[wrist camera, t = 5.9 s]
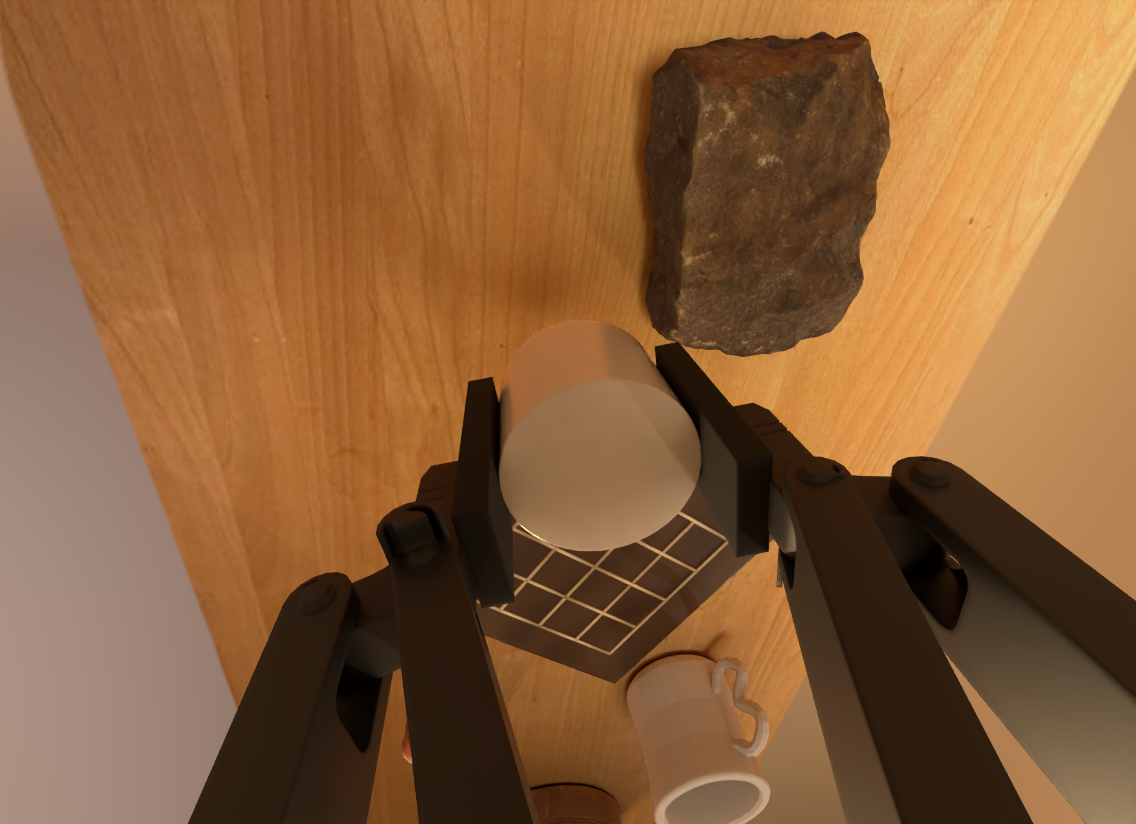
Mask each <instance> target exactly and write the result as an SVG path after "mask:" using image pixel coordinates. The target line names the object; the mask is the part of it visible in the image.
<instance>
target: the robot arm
mask: <svg viewBox="0 0 1136 824" xmlns="http://www.w3.org/2000/svg"><path fill="white" fill-rule="evenodd" d="M655 355H656V367H657V368H658V370H659V371H660V373H661V374H662V376H663V377H664V379H665V380H666V382H667V383H668V385H669V386H670V388H671V389H672V391H673V392H674V394H675V395H676V397H677V398H678V400H679V401H680V403H681V404H682V406H683V407H684V409H685V410H686V412H687V413H688V415H689V416H690V418H691V419H692V421H693V423H694V425H695V427H696V429H697V431H698V435H699V439H700V442H701V469H700V474H699V478H698V481H697V483H696V485H697V487H698V489H699V491H700V492H701V494H702V496H703V498H704V500H705V502H706V503H707V505H708V507H709V509H710V511H711V512H712V514H713V516H714V518H715V520H716V521H717V523H718V525H719V527H720V529H721V530H722V532H723V534H724V536H725V538H726V540H727V541H728V543H729V545H730V547H731V549H732V550H733V552H734V554H735V556H736V558H739V557H744V556H749V555H754V554H759V553H764V552H769V532H770V534H771V535H772V537H773V538H774V540H775V541H776V543H777V544H778V546H779V553H778V570H777V587H782V580H783V583H784V587H785V591H786V595H787V599H788V603H789V606H790V610H791V614H792V618H793V622H794V625H795V629H796V633H797V637H798V641H799V644H800V648H801V652H802V656H803V660H804V664H805V667H806V671H807V675H808V679H809V683H810V686H811V690H812V694H813V698H814V701H815V705H816V709H817V713H818V717H819V720H820V724H821V728H822V732H823V736H824V739H825V743H826V747H827V751H828V755H829V759H830V763H831V766H832V770H833V774H834V778H835V782H836V785H837V789H838V793H839V797H840V801H841V805H842V808H843V812H844V816H845V820H846V823H847V824H1033V822H1032V820H1031V818H1030V816H1029V814H1028V813H1027V811H1026V809H1025V807H1024V805H1023V803H1022V801H1021V799H1020V798H1019V795H1018V794H1017V791H1016V790H1015V788H1014V786H1013V784H1012V782H1011V780H1010V778H1009V776H1008V774H1007V772H1006V771H1005V769H1004V767H1003V765H1002V763H1001V761H1000V759H999V757H998V755H997V753H996V751H995V749H994V748H993V746H992V744H991V742H990V740H989V738H988V736H987V734H986V732H985V730H984V728H983V726H982V725H981V723H980V721H979V719H978V717H977V715H976V713H975V711H974V709H973V707H972V705H971V703H970V702H969V700H968V698H967V696H966V694H965V692H964V690H963V688H962V686H961V684H960V682H959V681H958V679H957V677H956V675H955V674H954V671H953V669H952V667H951V666H950V663H949V661H948V659H947V658H946V656H945V654H946V655H947V656H948V657H949V658H950V660H951V661H952V662H953V663H954V665H955V666H956V667H957V668H958V669H959V670H960V672H961V673H962V674H963V676H964V677H965V678H966V679H967V680H968V682H969V683H970V684H971V685H972V686H973V688H974V689H975V690H976V691H977V693H978V694H979V695H980V696H981V697H982V698H983V700H984V701H985V702H986V703H987V705H988V706H989V707H990V708H991V710H992V711H993V712H994V713H995V714H996V715H997V717H998V718H999V719H1000V720H1001V722H1002V723H1003V724H1004V725H1005V727H1006V728H1007V729H1008V730H1009V731H1010V733H1011V734H1012V735H1013V736H1014V738H1015V739H1016V740H1017V741H1018V742H1019V744H1020V745H1021V746H1022V747H1023V748H1024V750H1025V751H1026V752H1027V753H1028V755H1029V756H1030V757H1031V758H1032V759H1033V761H1034V762H1035V763H1036V764H1037V765H1038V767H1039V768H1040V769H1041V770H1042V772H1043V773H1044V774H1045V775H1046V776H1047V778H1048V779H1049V780H1050V781H1051V783H1052V784H1053V785H1054V786H1055V787H1056V789H1057V790H1058V791H1059V792H1060V793H1061V795H1062V796H1063V797H1064V798H1065V799H1066V801H1067V802H1068V803H1069V804H1070V806H1071V807H1072V808H1073V809H1074V810H1075V812H1076V813H1077V814H1078V815H1079V817H1080V818H1081V819H1082V820H1083V821H1084V823H1085V824H1136V601H1135V600H1134V599H1132V598H1131V597H1130V596H1128V595H1127V594H1126V593H1125V592H1123V591H1122V590H1121V589H1119V588H1118V587H1116V586H1115V585H1114V584H1112V583H1111V582H1110V581H1109V580H1107V579H1106V578H1105V577H1104V576H1102V575H1101V574H1099V573H1098V572H1097V571H1096V570H1094V569H1093V568H1092V567H1090V566H1089V565H1088V564H1086V563H1085V562H1084V561H1082V560H1081V559H1080V558H1078V557H1077V556H1076V555H1074V554H1073V553H1072V552H1071V551H1069V550H1068V549H1066V548H1065V547H1064V546H1063V545H1061V544H1060V543H1059V542H1057V541H1056V540H1055V539H1053V538H1052V537H1051V536H1049V535H1048V534H1047V533H1045V532H1044V531H1043V530H1041V529H1040V528H1039V527H1038V526H1036V525H1035V524H1034V523H1032V522H1031V521H1030V520H1028V519H1027V518H1026V517H1024V516H1023V515H1022V514H1020V513H1019V512H1017V511H1016V510H1015V509H1014V508H1013V507H1011V506H1010V505H1009V504H1007V503H1006V502H1005V501H1003V500H1002V499H1001V498H999V497H998V496H997V495H995V494H994V493H993V492H991V491H990V490H989V489H987V488H986V487H985V486H984V485H982V484H981V483H979V482H978V481H977V480H976V479H974V478H973V477H972V476H970V475H969V474H967V473H966V472H965V471H964V470H962V469H961V468H959V467H957V466H955V465H953V464H952V463H949V462H947V461H943V460H940V459H937V458H932V457H923V456H919V457H907V458H904V459H901V460H898V461H897V462H896V463H895V464H894V465H893V467H892V473H891V477H885V476H855V475H851V474H850V472H849V471H848V470H847V469H846V468H845V467H844V466H843V465H841V464H839V463H838V462H836V461H834V460H831V459H827V458H823V457H814V456H813V455H812V454H811V453H810V452H809V451H808V450H807V449H806V448H805V447H804V446H803V445H802V444H801V443H800V442H799V441H798V440H797V439H796V438H795V436H794V435H793V434H792V433H791V432H790V431H787V428H786V427H785V426H784V425H783V424H782V423H781V422H780V423H779V420H778V419H777V418H776V417H775V416H774V415H773V414H772V413H771V412H770V411H769V410H768V409H765V408H763V407H761V406H759V405H757V404H755V403H750V404H744V405H739V406H734V407H733V406H732V405H731V404H730V403H729V402H728V400H727V399H726V398H725V397H724V396H723V394H722V393H721V392H720V391H719V390H718V388H717V387H716V386H715V385H714V384H713V383H712V381H711V380H710V379H709V378H708V377H707V375H706V374H705V373H704V372H703V371H702V370H701V368H700V367H699V366H698V365H697V364H696V362H695V361H694V360H693V359H692V358H691V357H690V355H689V354H688V353H687V352H686V351H685V349H684V348H683V347H682V346H681V345H680V343H679V342H676V343H670V344H665V345H660V346H655ZM498 455H499V401H498V397H497V393H496V389H495V385H494V381H493V377H490V378H485V379H479V380H474V381H469V382H468V390H467V397H466V405H465V412H464V420H463V428H462V435H461V443H460V450H459V458H458V461H454V462H449V463H444V464H439V465H433V466H431V467H430V468H429V469H428V471H427V472H426V473H425V474H424V476H423V477H422V478H421V481H420V485H419V489H418V494H417V498H416V502H411V503H407V504H404V505H402V506H400V507H398V508H396V509H394V510H392V511H391V512H390V513H389V514H387V515H386V516H385V517H384V518H383V519H382V520H381V522H380V523H379V524H378V526H377V531H376V535H377V537H378V540H379V542H380V544H381V547H382V549H383V551H384V553H385V556H386V558H387V560H388V562H389V565H388V566H387V567H385V568H384V569H382V570H380V571H378V572H376V573H374V574H372V575H370V576H368V577H365V578H363V579H361V580H358V581H356V582H354V583H351V581H350V580H349V578H348V577H347V575H345V574H342V573H339V572H333V573H325V574H322V575H319V576H316V577H313V578H311V579H310V580H308V581H306V582H305V583H303V584H301V585H300V586H299V587H298V588H297V589H296V590H294V591H293V592H292V593H291V594H290V595H289V597H288V598H287V600H286V601H285V603H284V605H283V607H282V609H281V611H280V613H279V616H278V618H277V620H276V623H275V625H274V627H273V630H272V632H271V634H270V636H269V639H268V641H267V643H266V646H265V648H264V650H263V652H262V655H261V657H260V659H259V662H258V664H257V666H256V669H255V671H254V673H253V675H252V678H251V680H250V682H249V685H248V687H247V689H246V692H245V694H244V696H243V698H242V701H241V703H240V705H239V708H238V710H237V712H236V714H235V717H234V719H233V722H232V724H231V726H230V728H229V731H228V733H227V735H226V737H225V740H224V742H223V744H222V747H221V749H220V751H219V753H218V756H217V758H216V760H215V763H214V765H213V767H212V770H211V772H210V774H209V776H208V779H207V781H206V783H205V786H204V788H203V790H202V793H201V795H200V797H199V799H198V802H197V804H196V806H195V809H194V811H193V813H192V815H191V818H190V820H189V822H188V824H366V822H367V817H368V811H369V805H370V800H371V794H372V788H373V783H374V777H375V771H376V766H377V760H378V754H379V748H380V743H381V737H382V731H383V726H384V720H385V714H386V709H387V703H388V697H389V692H390V686H391V680H392V675H393V671H395V670H397V669H399V668H401V670H402V679H403V688H404V696H405V705H406V713H407V722H408V731H409V739H410V748H411V757H412V765H413V774H414V782H415V791H416V800H417V808H418V817H419V824H541V823H540V820H539V817H538V813H537V810H536V807H535V803H534V800H533V797H532V793H531V790H530V787H529V783H528V780H527V777H526V773H525V770H524V767H523V763H522V760H521V757H520V753H519V750H518V747H517V743H516V740H515V737H514V733H513V730H512V726H511V723H510V720H509V716H508V713H507V710H506V706H505V703H504V700H503V696H502V693H501V690H500V686H499V683H498V680H497V676H496V673H495V670H494V666H493V663H492V660H491V656H490V653H489V650H488V646H487V643H486V640H485V636H484V633H483V630H482V626H481V623H480V620H479V617H478V614H477V612H476V602H477V596H478V599H479V602H480V605H481V607H482V609H483V608H488V607H493V606H498V605H503V604H508V603H513V602H515V596H514V561H513V526H512V514H511V513H510V512H509V510H508V508H507V506H506V504H505V503H504V499H503V496H502V492H501V489H500V485H499V477H498ZM951 556H952V557H953V558H954V559H955V560H956V561H957V562H958V563H959V564H960V565H959V564H958V563H957V562H956V561H955V560H954V559H953V558H952V557H951ZM943 651H944V652H945V654H944V652H943Z"/></svg>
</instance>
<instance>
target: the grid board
mask: <svg viewBox="0 0 1136 824" xmlns="http://www.w3.org/2000/svg"><path fill="white" fill-rule="evenodd" d="M512 526H513V561H514V596H515V602H513V603H508V604H503V605H498V606H493V607H488V608H483V609H482V607H481V605H480V602H479V599H478V596H477V602H476V612H477V614H478V617H479V620H480V623H481V626H482V630H483V633H484V636H487V637H490V638H492V639H495V640H498V641H501V642H503V643H506V644H509V645H511V646H514V647H517V648H519V649H522V650H525V651H528V652H530V653H533V654H536V655H538V656H541V657H544V658H547V659H549V660H552V661H555V662H557V663H560V664H563V665H566V666H568V667H571V668H574V669H576V670H579V671H582V672H585V673H587V674H590V675H593V676H595V677H598V678H601V679H603V680H606V681H609V682H612V683H614V684H615V683H616V682H617V681H618V680H620V679H621V678H622V677H623V676H624V675H625V674H626V673H627V672H628V671H629V670H630V669H632V668H633V667H634V666H635V665H636V664H637V663H638V662H639V661H640V660H641V659H642V658H644V657H645V656H646V655H647V654H648V653H649V652H650V651H651V650H652V649H653V648H655V647H656V646H657V645H658V644H659V643H660V642H661V641H662V640H663V639H664V638H665V637H667V636H668V635H669V634H670V633H671V632H672V631H673V630H674V629H675V628H676V627H678V626H679V625H680V624H681V623H682V622H683V621H684V620H685V619H686V618H687V617H688V616H690V615H691V614H692V613H693V612H694V611H695V610H696V609H697V608H698V607H699V606H700V605H702V604H703V603H704V602H705V601H706V600H707V599H708V598H709V597H710V596H711V595H713V594H714V593H715V592H716V591H717V590H718V589H719V588H720V587H721V586H722V585H723V584H725V583H726V582H727V581H728V580H729V579H730V578H731V577H732V576H733V575H734V574H736V573H737V572H738V571H739V570H740V569H741V568H742V567H743V566H744V565H745V564H746V563H748V562H749V561H750V560H751V559H752V558H753V557H754V556H755V555H756V554H754V555H749V556H744V557H739V558H736V556H735V554H734V552H733V550H732V549H731V547H730V545H729V543H728V541H727V540H726V538H725V536H724V534H723V532H722V530H721V529H720V527H719V525H718V523H717V521H716V520H715V518H714V516H713V514H712V512H711V511H710V509H709V507H708V505H707V503H706V502H705V500H704V498H703V496H702V494H701V492H700V491H699V489H698V487H697V485H696V486H695V488H694V490H693V492H692V494H691V496H690V498H689V499H688V501H687V502H686V504H685V505H684V507H683V508H682V509H681V510H680V511H679V513H678V514H677V515H676V516H675V517H674V518H673V519H672V520H670V521H669V522H668V523H667V524H666V525H665V526H663V527H662V528H661V529H659V530H658V531H656V532H654V533H653V534H651V535H649V536H648V537H646V538H644V539H641V540H639V541H637V542H634V543H632V544H629V545H626V546H622V547H618V548H614V549H608V550H602V551H578V550H571V549H565V548H562V547H558V546H554V545H552V544H549V543H547V542H544V541H542V540H541V539H539V538H537V537H535V536H533V535H532V534H531V533H529V532H528V531H527V530H525V529H524V528H523V527H522V526H521V525H520V524H519V523H518V522H517V521H516V520H515V518H514V517H513V516H512ZM773 539H774V538H773V537H772V535H771V534H770V532H769V542H771V541H772V540H773Z"/></svg>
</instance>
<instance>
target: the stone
mask: <svg viewBox="0 0 1136 824" xmlns="http://www.w3.org/2000/svg"><path fill="white" fill-rule="evenodd" d="M652 78H653V86H652V89H651V102H650V111H651V123H650V132H649V136H648V139H647V143H646V147H645V150H644V169H645V173H646V177H647V181H648V195H649V200H650V205H651V208H652V214H653V217H654V220H655V223H656V225H655V235H654V241H655V257H654V262H653V266H652V269H651V273H650V277H649V282H648V287H647V291H646V304H647V309H648V312H649V315H650V318H651V321H652V327H653V328H655V329H656V330H657V332H658V333H659V334H661V335H662V336H663V337H665V338H666V339H667V340H670V341H674V342H679V343H680V344H682V345H684V346H687V347H691V348H696V349H707V350H712V349H717V350H720V351H722V352H723V353H725V354H727V355H735V356H741V357H746V356H752V355H759V354H772V353H775V352H780V351H785V350H788V349H790V348H793V347H795V345H796V344H797V343H798V342H799V341H800V340H803V339H807V338H811V337H813V338H815V337H818V336H821V335H824V334H826V333H829V332H830V331H832V330H833V329H834V327H835V326H836V325H837V324H838V323H839V322H840V321H841V320H842V318H843V317H844V315H845V313H846V311H847V309H848V307H849V306H850V304H851V303H852V301H853V300H854V298H855V297H856V296H857V294H858V292H859V291H860V289H861V288H862V284H863V279H864V276H863V270H862V267H861V264H860V256H859V255H860V244H861V239H862V236H863V234H864V232H865V230H866V228H867V226H868V224H869V223H870V221H871V220H872V218H873V216H874V214H875V211H876V197H877V179H878V176H879V173H880V170H881V168H882V166H883V163H884V161H885V159H886V156H887V153H888V151H889V148H890V135H889V118H888V115H887V112H886V110H885V106H886V105H885V100H884V96H883V88H882V84H881V82H878V79H879V76H878V74H877V72H876V70H875V67H874V64H873V61H872V59H871V47H870V43H869V40H868V39H867V38H866V37H864V36H863V35H862V34H860V33H858V32H853V33H848V34H845V35H842V36H840V37H838V38H836V39H835V38H834V37H832V36H830V35H829V34H827V33H826V32H820V33H817V34H815V35H813V36H811V37H810V38H807V39H804V38H802V37H801V38H800V39H781V38H778V37H777V36H767V37H764V38H761V39H760V38H755V39H749V38H746V39H742V40H736V39H734V38H730V37H729V38H724V39H720V40H716V41H712V42H709V43H707V44H705V45H702V46H696V47H688V48H680V49H675V50H674V51H673V52H672V54H671V56H670V57H669V59H668V60H667V62H666V63H665V64H664V65H663V66H662V67H660V68H659V69H658V70H657V71H656V72H655V73H654V74H653V76H652Z"/></svg>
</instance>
